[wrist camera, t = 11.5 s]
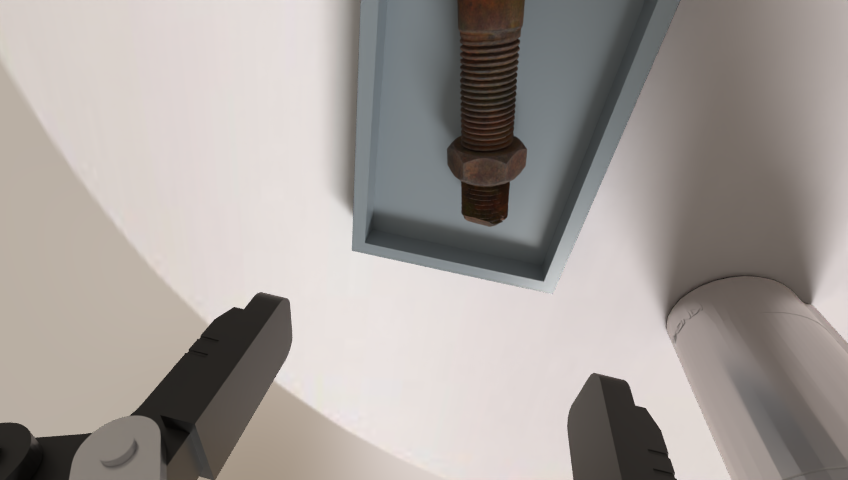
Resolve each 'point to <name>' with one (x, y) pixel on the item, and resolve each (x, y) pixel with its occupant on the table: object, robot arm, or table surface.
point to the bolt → (488, 108)
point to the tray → (534, 125)
